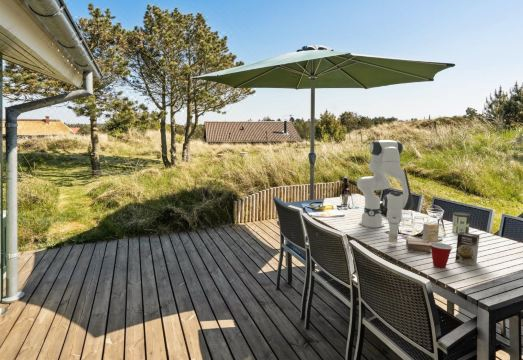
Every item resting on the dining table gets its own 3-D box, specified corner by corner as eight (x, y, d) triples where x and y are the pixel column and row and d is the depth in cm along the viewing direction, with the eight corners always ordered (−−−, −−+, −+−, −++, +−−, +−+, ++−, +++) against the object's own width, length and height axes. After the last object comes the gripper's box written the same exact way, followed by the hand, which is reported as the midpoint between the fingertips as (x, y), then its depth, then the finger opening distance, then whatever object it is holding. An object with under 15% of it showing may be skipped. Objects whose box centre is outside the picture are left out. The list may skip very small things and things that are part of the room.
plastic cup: (453, 265, 162) (454, 244, 160) (449, 272, 154) (450, 249, 152) (430, 260, 169) (432, 239, 167) (425, 266, 161) (427, 244, 159)
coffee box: (454, 261, 167) (457, 233, 165) (457, 258, 171) (460, 231, 169) (474, 266, 160) (477, 237, 158) (477, 262, 165) (479, 234, 163)
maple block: (388, 239, 196) (389, 230, 195) (396, 240, 194) (397, 231, 193) (388, 242, 191) (388, 233, 190) (396, 243, 189) (397, 234, 188)
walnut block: (406, 244, 195) (406, 237, 194) (426, 246, 190) (427, 239, 190) (408, 251, 183) (408, 243, 183) (430, 253, 179) (430, 245, 179)
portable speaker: (377, 212, 278) (377, 201, 277) (387, 212, 278) (388, 201, 277) (390, 219, 253) (390, 208, 251) (401, 219, 253) (402, 207, 252)
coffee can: (462, 230, 222) (463, 211, 220) (472, 234, 211) (473, 215, 209) (448, 230, 221) (449, 212, 220) (457, 235, 211) (459, 215, 209)
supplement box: (427, 244, 193) (429, 225, 191) (421, 242, 198) (423, 223, 196) (438, 243, 195) (439, 224, 193) (432, 241, 200) (433, 222, 198)
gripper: (389, 212, 201) (388, 232, 203) (388, 220, 182) (387, 242, 185) (399, 213, 198) (398, 233, 200) (399, 222, 180) (398, 244, 182)
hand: (392, 238), depth 192 cm, fingers closed on maple block, 5 cm apart
